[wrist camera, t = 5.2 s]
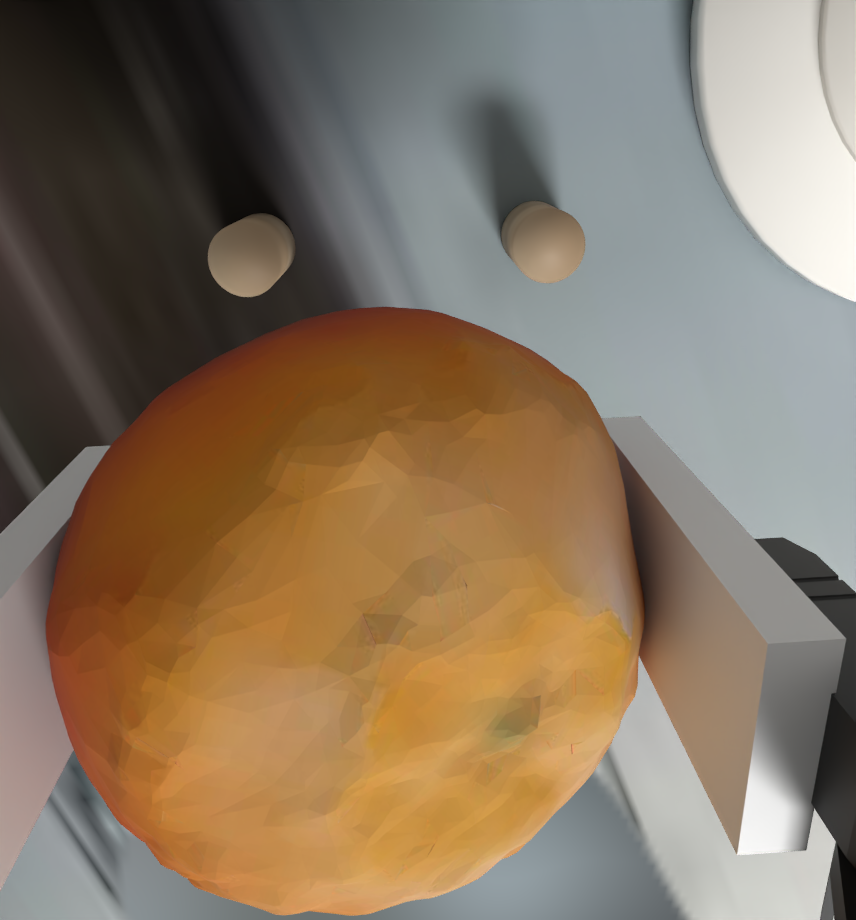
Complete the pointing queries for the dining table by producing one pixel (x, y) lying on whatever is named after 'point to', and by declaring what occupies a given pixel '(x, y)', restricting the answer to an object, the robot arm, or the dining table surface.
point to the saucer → (783, 126)
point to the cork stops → (273, 248)
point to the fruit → (349, 611)
